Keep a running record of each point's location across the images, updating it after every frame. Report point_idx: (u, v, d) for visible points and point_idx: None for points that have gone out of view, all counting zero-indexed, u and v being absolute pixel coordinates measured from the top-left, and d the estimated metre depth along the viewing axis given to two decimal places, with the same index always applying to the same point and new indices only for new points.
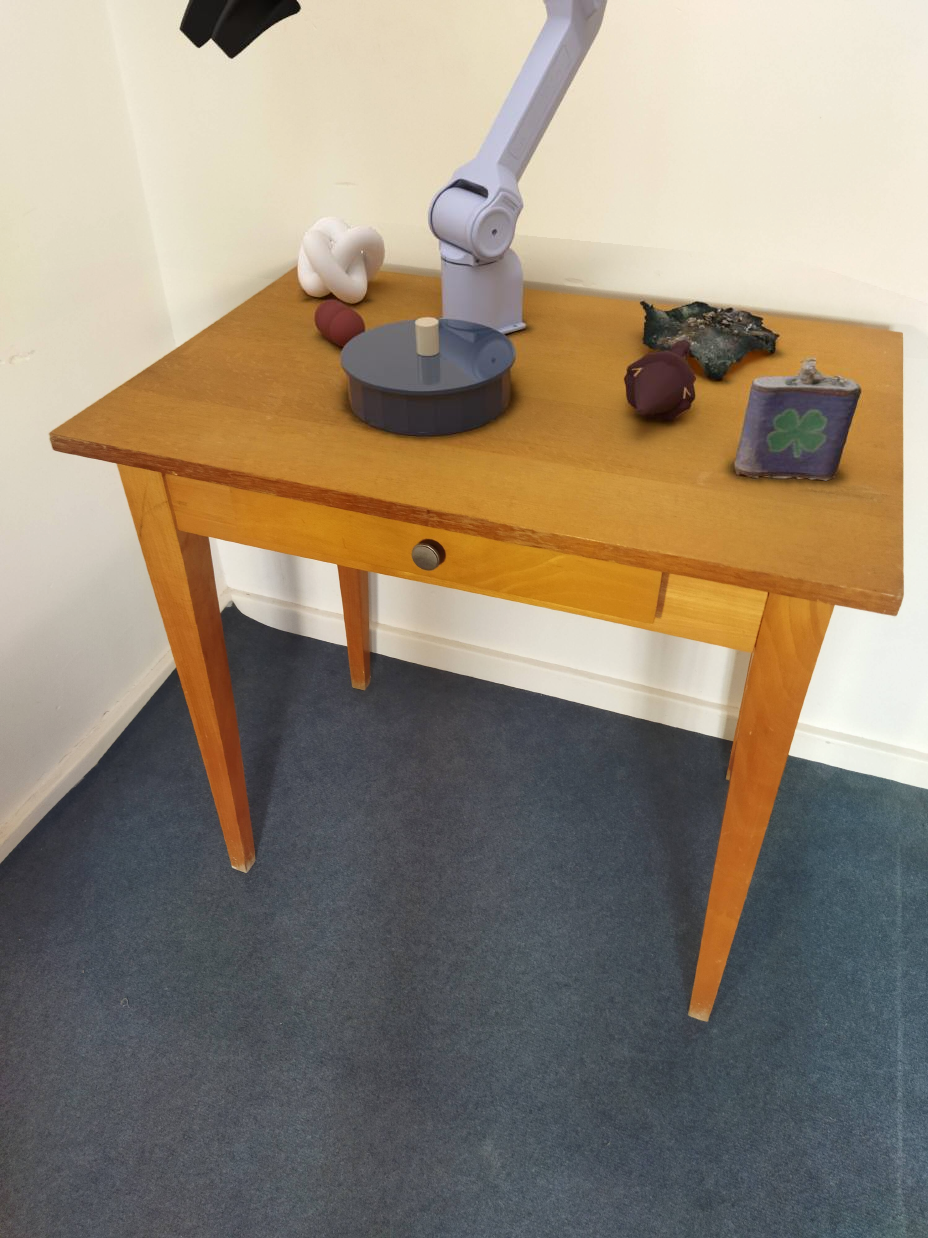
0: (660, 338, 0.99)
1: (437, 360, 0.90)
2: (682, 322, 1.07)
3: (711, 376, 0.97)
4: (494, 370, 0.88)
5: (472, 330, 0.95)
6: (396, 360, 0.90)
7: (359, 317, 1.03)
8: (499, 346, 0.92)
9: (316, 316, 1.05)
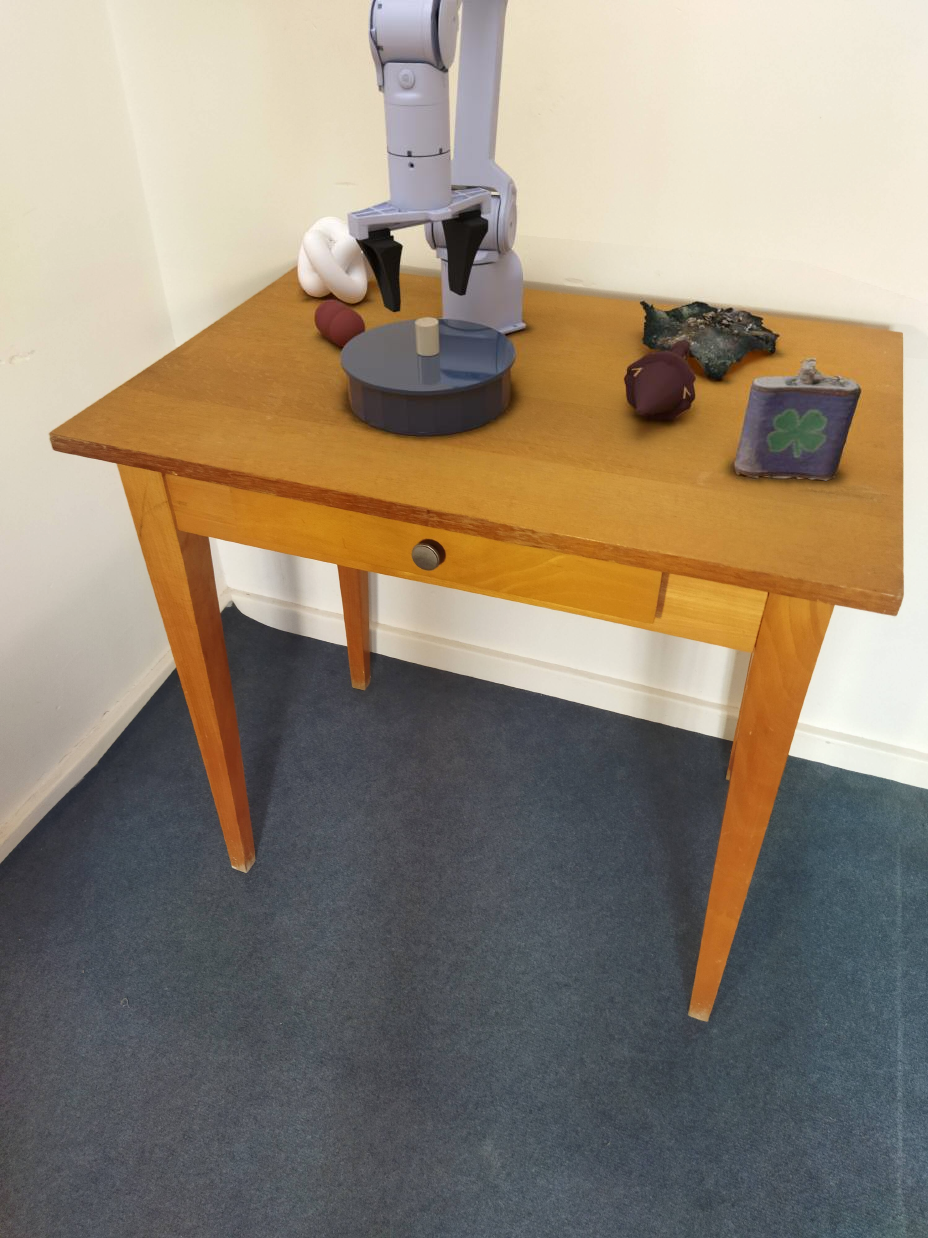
0: (660, 338, 0.99)
1: (437, 360, 0.90)
2: (682, 322, 1.07)
3: (711, 376, 0.97)
4: (494, 370, 0.88)
5: (472, 330, 0.95)
6: (396, 360, 0.90)
7: (359, 317, 1.03)
8: (499, 346, 0.92)
9: (316, 316, 1.05)
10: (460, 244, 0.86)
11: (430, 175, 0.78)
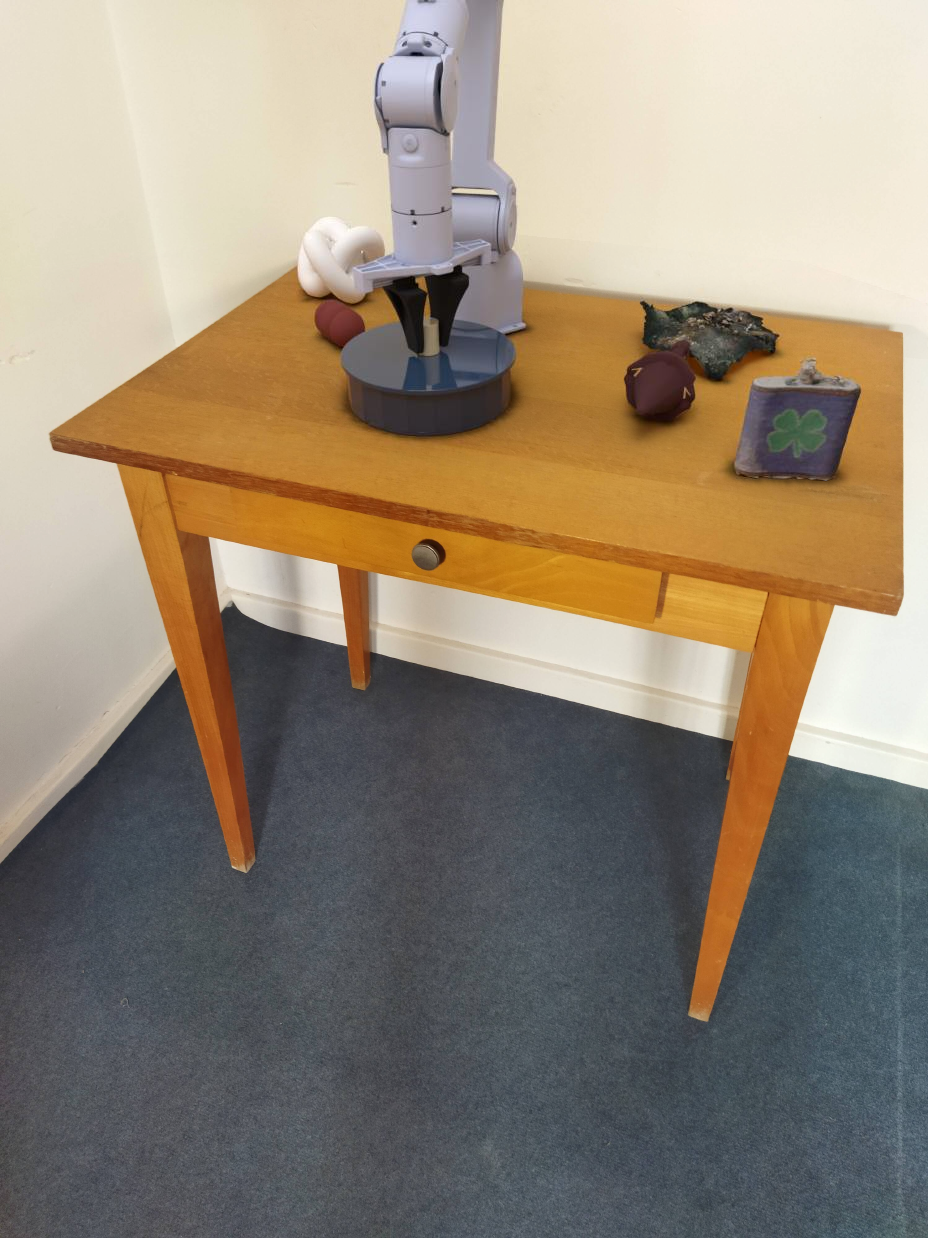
0: (660, 338, 0.99)
1: (437, 360, 0.90)
2: (682, 322, 1.07)
3: (711, 376, 0.97)
4: (494, 370, 0.88)
5: (472, 330, 0.95)
6: (396, 360, 0.90)
7: (359, 317, 1.03)
8: (499, 346, 0.92)
9: (316, 316, 1.05)
10: (442, 298, 0.88)
11: (432, 232, 0.81)
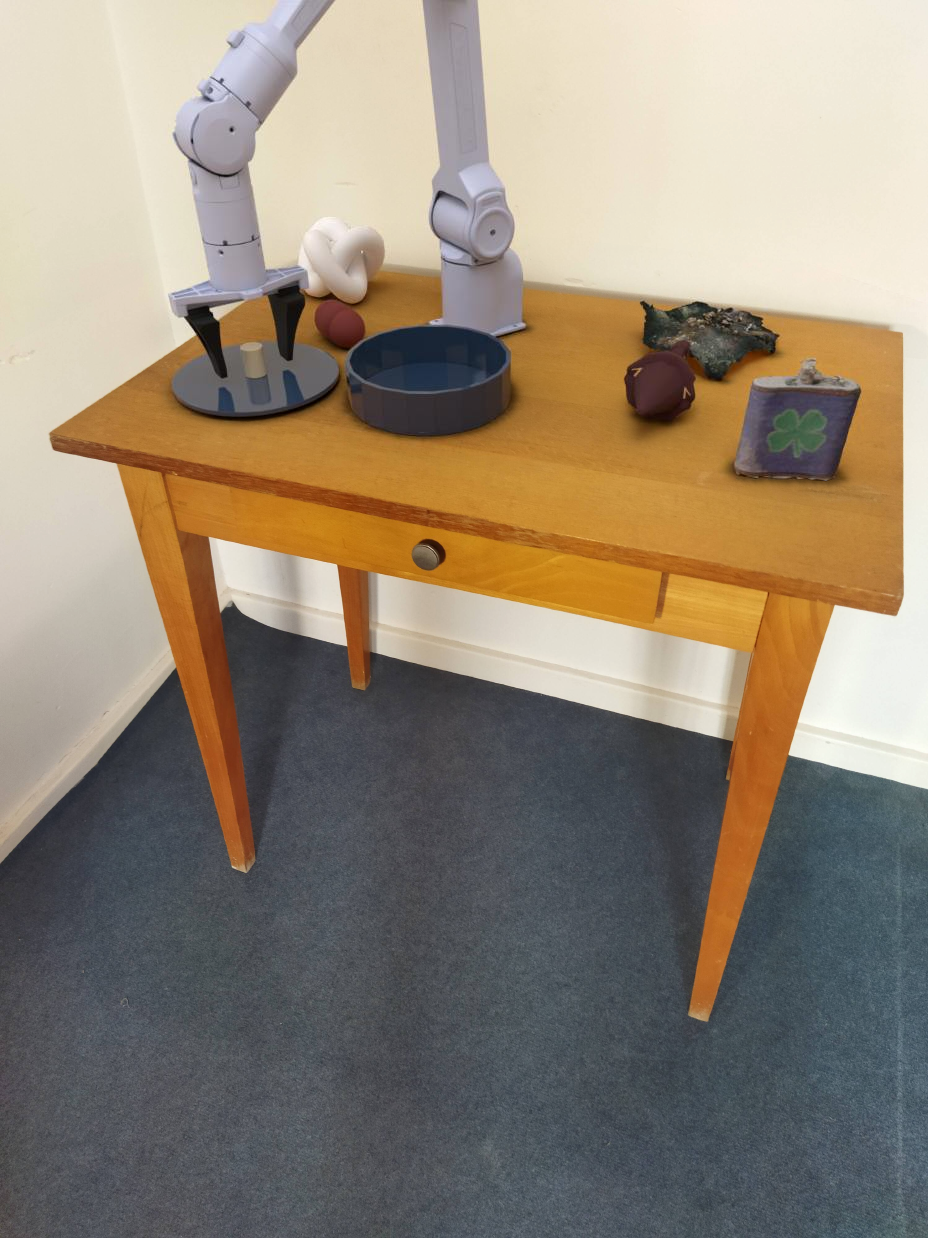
0: (660, 338, 0.99)
1: (261, 382, 0.95)
2: (682, 322, 1.07)
3: (711, 376, 0.97)
4: (311, 392, 0.93)
5: (304, 353, 1.01)
6: (223, 382, 0.96)
7: (359, 317, 1.03)
8: (324, 369, 0.98)
9: (316, 316, 1.05)
10: (282, 316, 0.94)
11: (239, 261, 0.87)
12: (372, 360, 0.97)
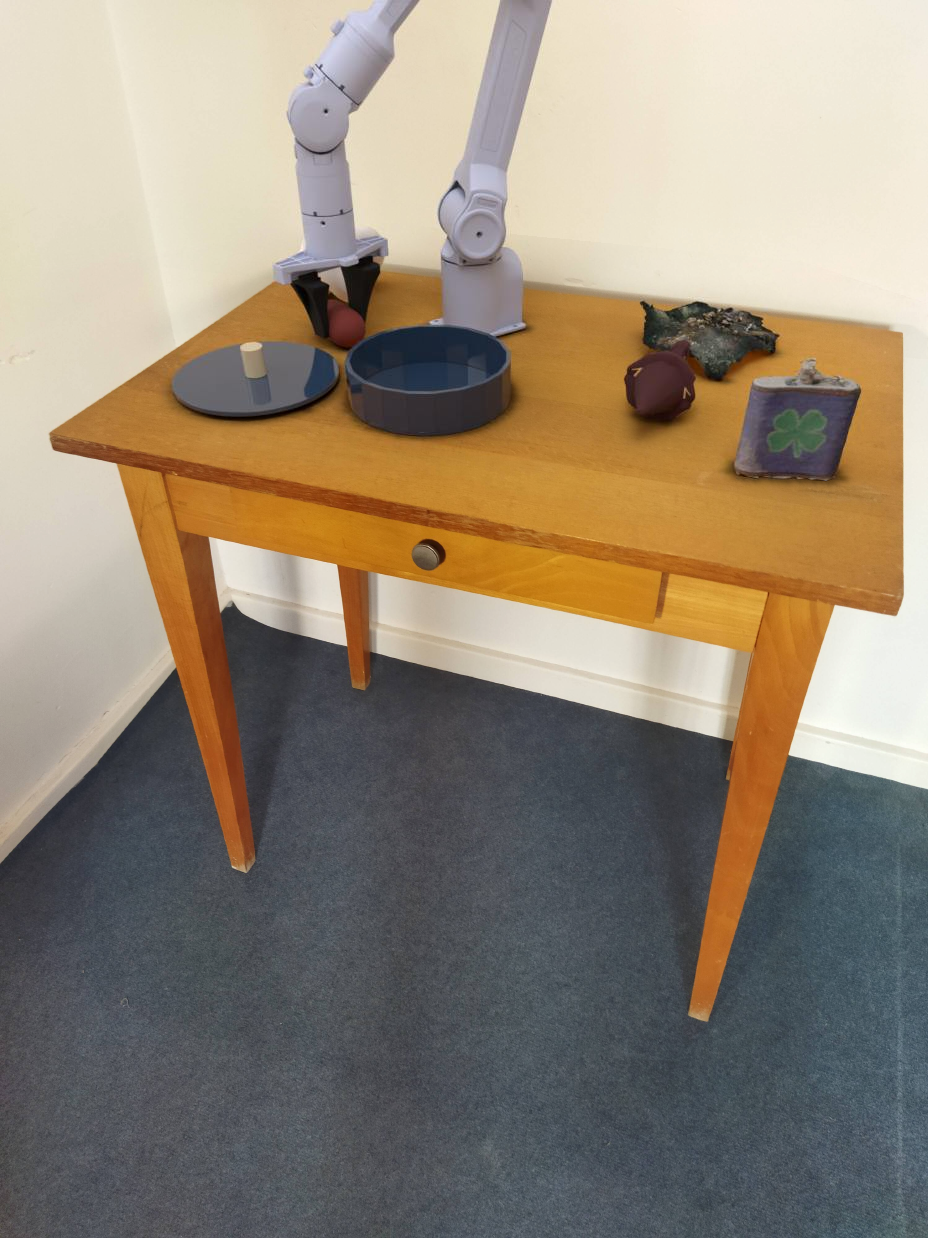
0: (660, 338, 0.99)
1: (261, 382, 0.95)
2: (682, 322, 1.07)
3: (711, 376, 0.97)
4: (311, 392, 0.93)
5: (304, 353, 1.01)
6: (223, 382, 0.96)
7: (359, 317, 1.03)
8: (324, 369, 0.98)
9: None
10: (358, 284, 1.03)
11: (339, 230, 0.96)
12: (372, 360, 0.97)
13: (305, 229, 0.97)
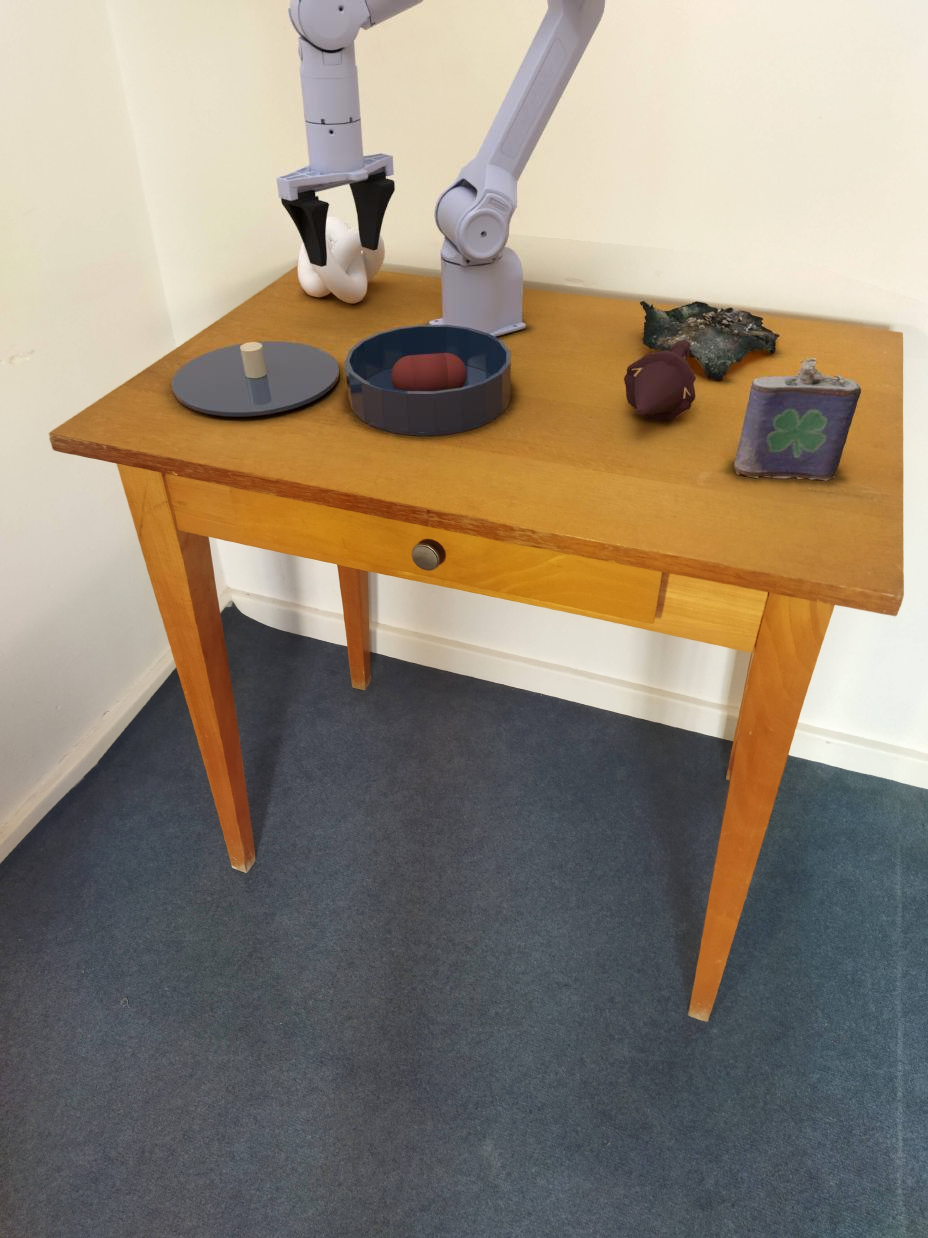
0: (660, 338, 0.99)
1: (261, 382, 0.95)
2: (682, 322, 1.07)
3: (711, 376, 0.97)
4: (311, 392, 0.93)
5: (304, 353, 1.01)
6: (223, 382, 0.96)
7: None
8: (324, 369, 0.98)
9: (413, 382, 0.91)
10: (371, 203, 0.97)
11: (348, 140, 0.89)
12: (372, 360, 0.97)
13: (310, 140, 0.90)
